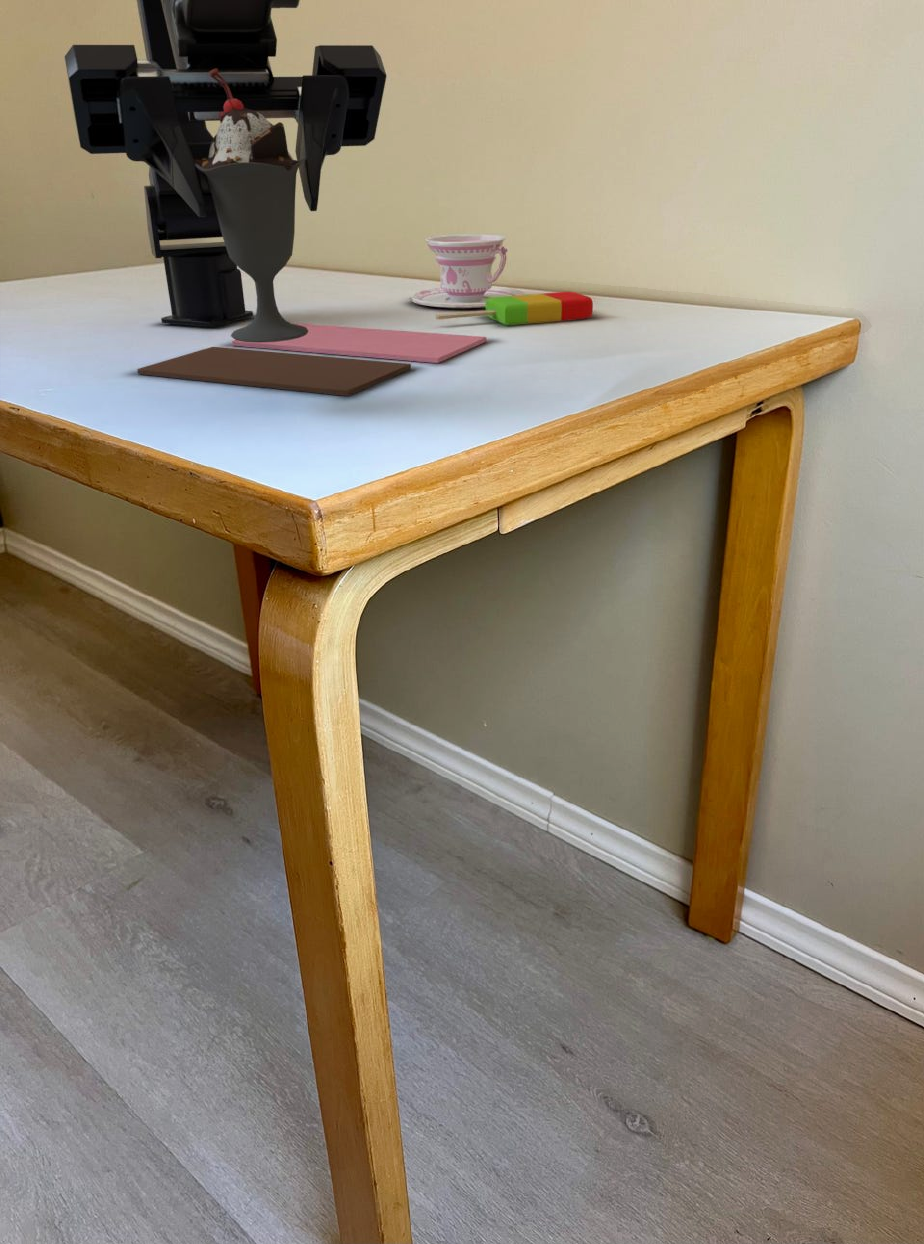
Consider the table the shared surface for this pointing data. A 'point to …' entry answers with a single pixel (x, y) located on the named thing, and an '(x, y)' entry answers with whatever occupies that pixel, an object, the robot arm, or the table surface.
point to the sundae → (254, 207)
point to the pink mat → (374, 343)
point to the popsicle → (533, 308)
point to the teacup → (465, 271)
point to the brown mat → (277, 370)
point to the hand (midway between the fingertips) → (259, 208)
